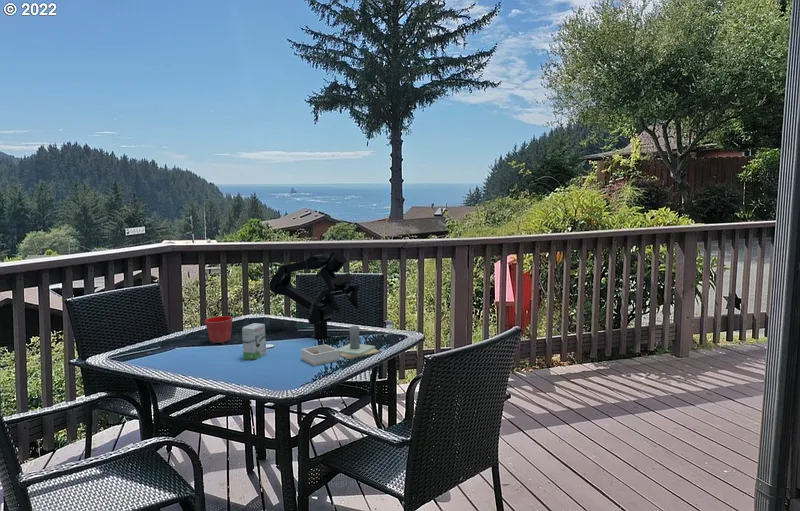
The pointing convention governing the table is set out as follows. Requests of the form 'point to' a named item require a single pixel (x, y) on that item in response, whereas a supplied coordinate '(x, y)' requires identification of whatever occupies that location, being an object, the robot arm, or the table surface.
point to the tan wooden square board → (359, 356)
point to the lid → (355, 344)
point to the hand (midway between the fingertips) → (348, 310)
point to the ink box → (254, 341)
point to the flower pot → (219, 328)
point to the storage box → (320, 355)
